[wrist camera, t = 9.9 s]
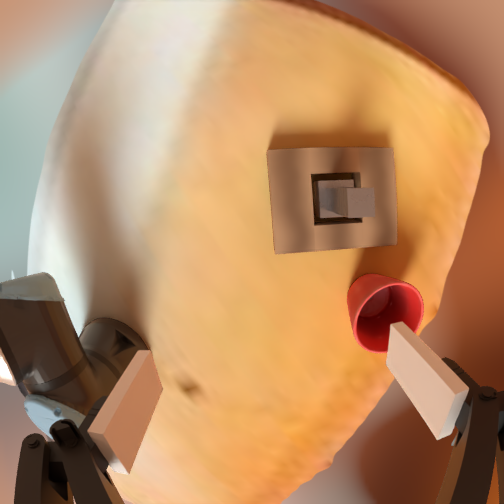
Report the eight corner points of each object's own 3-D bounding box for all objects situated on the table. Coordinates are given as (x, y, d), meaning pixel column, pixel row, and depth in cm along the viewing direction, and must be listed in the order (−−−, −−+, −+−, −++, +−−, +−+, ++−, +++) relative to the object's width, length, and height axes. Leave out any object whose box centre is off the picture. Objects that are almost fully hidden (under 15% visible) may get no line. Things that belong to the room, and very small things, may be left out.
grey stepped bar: (315, 215, 42) (339, 228, 28) (312, 181, 41) (336, 178, 27) (347, 213, 42) (383, 225, 28) (345, 180, 41) (381, 178, 27)
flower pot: (330, 276, 44) (347, 299, 35) (392, 255, 43) (420, 271, 33) (343, 332, 46) (359, 364, 37) (400, 311, 45) (426, 336, 36)
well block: (274, 248, 43) (275, 254, 39) (266, 153, 40) (267, 150, 36) (386, 239, 42) (397, 244, 39) (382, 150, 39) (393, 147, 36)
